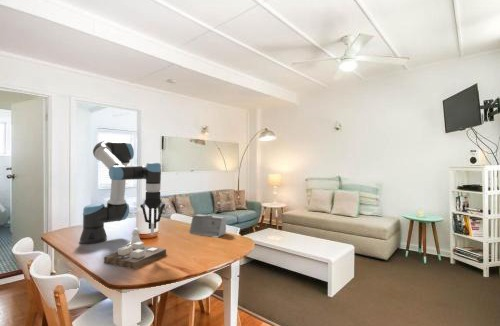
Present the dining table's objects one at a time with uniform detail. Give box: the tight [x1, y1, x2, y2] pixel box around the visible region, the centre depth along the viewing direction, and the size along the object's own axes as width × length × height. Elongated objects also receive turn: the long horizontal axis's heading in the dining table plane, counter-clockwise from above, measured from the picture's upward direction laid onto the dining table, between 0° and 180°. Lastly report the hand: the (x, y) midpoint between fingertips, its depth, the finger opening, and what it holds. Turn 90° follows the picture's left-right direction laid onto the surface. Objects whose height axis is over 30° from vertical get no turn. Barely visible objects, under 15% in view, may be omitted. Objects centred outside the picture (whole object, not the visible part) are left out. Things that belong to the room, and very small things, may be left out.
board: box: [103, 245, 167, 270], centre depth 145 cm, size 20×22×4 cm
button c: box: [133, 241, 145, 250], centre depth 152 cm, size 4×4×4 cm
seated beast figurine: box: [126, 227, 143, 248], centre depth 163 cm, size 10×9×12 cm
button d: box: [147, 247, 159, 253], centre depth 148 cm, size 4×4×4 cm
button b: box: [132, 249, 144, 259], centre depth 139 cm, size 4×4×4 cm
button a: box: [117, 246, 130, 256], centre depth 143 cm, size 4×4×4 cm
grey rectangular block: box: [189, 213, 227, 238], centre depth 199 cm, size 25×16×12 cm, turn 64°
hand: (152, 234), depth 149 cm, fingers closed
